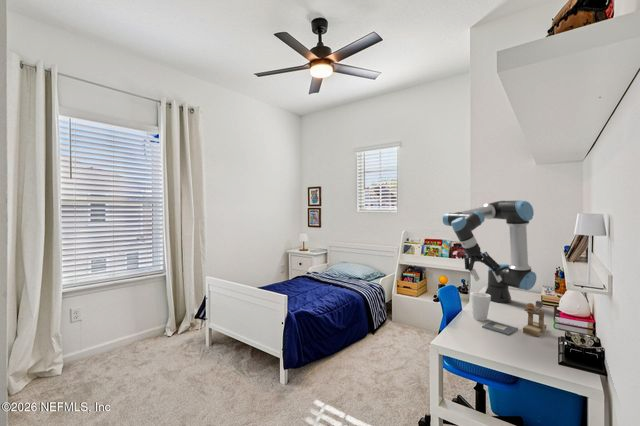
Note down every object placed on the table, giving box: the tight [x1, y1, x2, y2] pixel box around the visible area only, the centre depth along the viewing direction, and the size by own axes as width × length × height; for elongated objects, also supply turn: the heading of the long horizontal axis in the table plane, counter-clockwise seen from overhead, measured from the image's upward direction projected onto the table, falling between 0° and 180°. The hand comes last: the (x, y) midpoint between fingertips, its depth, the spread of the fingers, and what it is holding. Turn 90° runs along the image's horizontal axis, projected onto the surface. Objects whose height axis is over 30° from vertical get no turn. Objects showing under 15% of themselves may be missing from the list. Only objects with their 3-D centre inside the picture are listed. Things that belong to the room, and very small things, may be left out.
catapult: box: [522, 300, 548, 338], centre depth 149 cm, size 17×6×15 cm, turn 130°
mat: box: [482, 320, 519, 336], centre depth 153 cm, size 12×12×1 cm
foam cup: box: [470, 291, 491, 321], centre depth 166 cm, size 10×9×13 cm
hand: (488, 280), depth 164 cm, fingers open, 13 cm apart
